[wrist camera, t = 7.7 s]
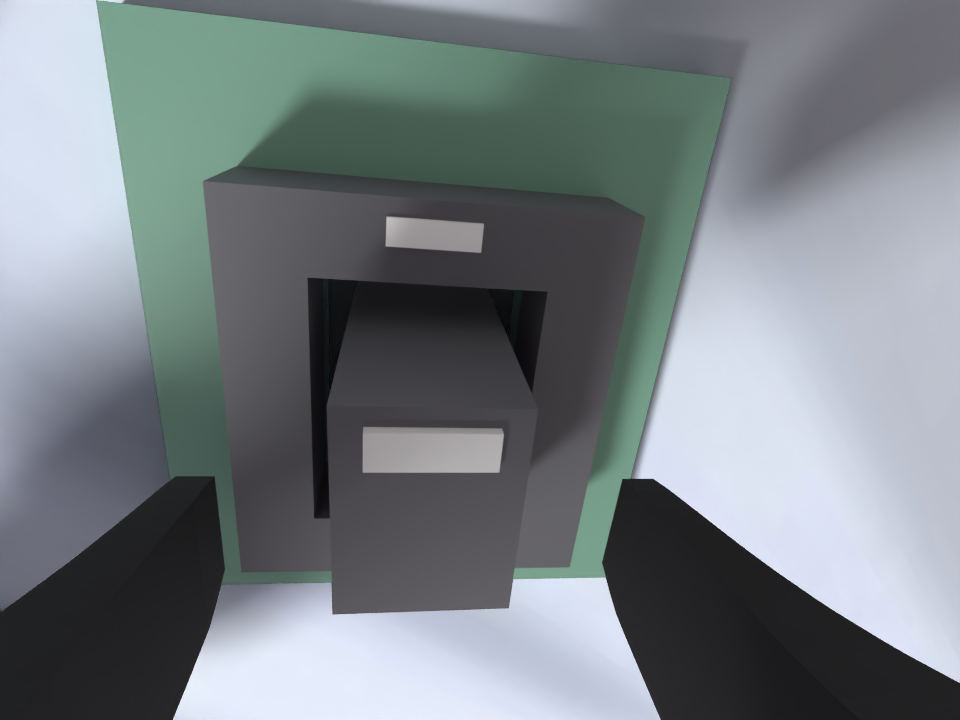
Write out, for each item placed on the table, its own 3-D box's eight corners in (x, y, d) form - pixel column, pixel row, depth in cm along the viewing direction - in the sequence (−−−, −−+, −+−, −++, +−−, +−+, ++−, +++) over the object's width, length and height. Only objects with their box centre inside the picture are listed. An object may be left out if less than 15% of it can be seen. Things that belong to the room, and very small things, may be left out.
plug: (358, 428, 18) (331, 622, 11) (357, 280, 16) (325, 412, 9) (472, 429, 18) (510, 615, 12) (486, 286, 16) (540, 415, 10)
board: (196, 561, 19) (154, 657, 16) (118, 6, 12) (18, -24, 9) (596, 556, 21) (631, 640, 18) (711, 78, 15) (799, 75, 11)
